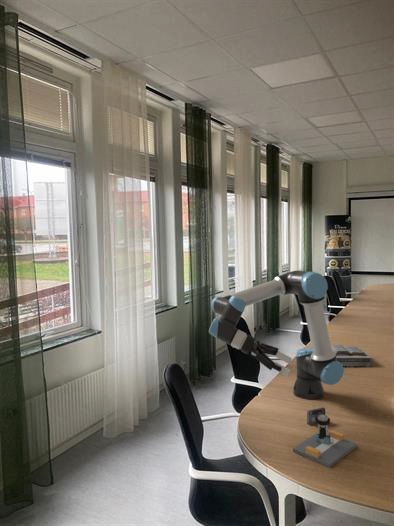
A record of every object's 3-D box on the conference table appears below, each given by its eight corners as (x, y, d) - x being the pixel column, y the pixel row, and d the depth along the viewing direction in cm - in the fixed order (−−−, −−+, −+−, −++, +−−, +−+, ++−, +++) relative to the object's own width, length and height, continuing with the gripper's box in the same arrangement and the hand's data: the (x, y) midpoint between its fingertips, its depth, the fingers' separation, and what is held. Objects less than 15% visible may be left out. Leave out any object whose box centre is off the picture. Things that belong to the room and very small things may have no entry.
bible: (323, 356, 271) (323, 342, 270) (366, 358, 264) (366, 343, 264) (325, 367, 248) (325, 351, 247) (373, 370, 242) (373, 353, 241)
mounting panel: (321, 433, 164) (321, 425, 164) (356, 446, 153) (357, 438, 153) (292, 451, 151) (292, 443, 151) (329, 467, 140) (329, 458, 140)
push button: (335, 441, 155) (334, 415, 155) (332, 447, 151) (332, 421, 150) (317, 437, 159) (317, 412, 158) (314, 443, 154) (314, 418, 153)
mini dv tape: (323, 420, 176) (322, 407, 176) (325, 421, 175) (325, 408, 174) (307, 423, 173) (306, 410, 173) (309, 425, 172) (309, 411, 172)
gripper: (244, 340, 184) (287, 363, 180) (234, 359, 160) (283, 386, 156) (251, 326, 182) (295, 349, 178) (242, 343, 158) (292, 370, 154)
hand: (289, 366), depth 167 cm, fingers open, 13 cm apart
